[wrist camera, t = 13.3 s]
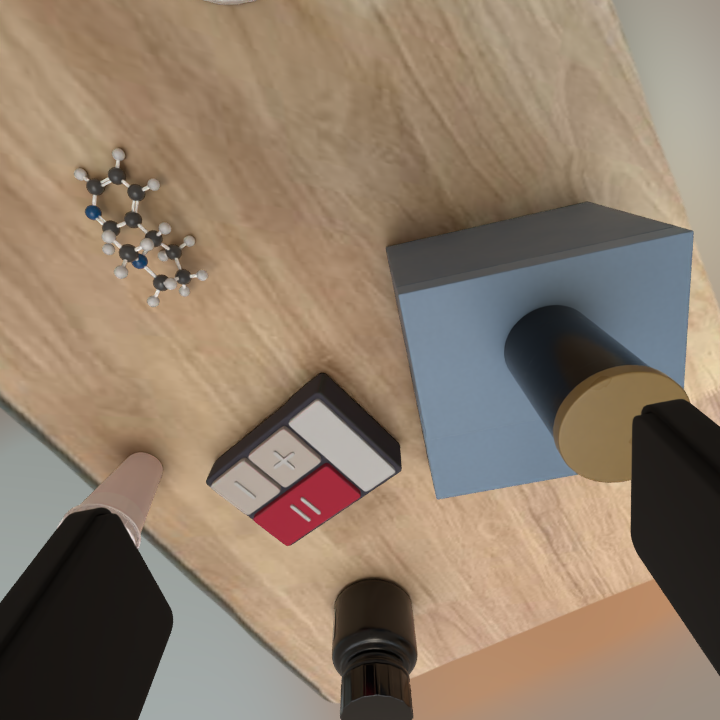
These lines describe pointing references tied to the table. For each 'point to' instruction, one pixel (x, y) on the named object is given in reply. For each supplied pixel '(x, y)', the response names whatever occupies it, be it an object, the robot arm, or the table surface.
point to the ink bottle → (374, 651)
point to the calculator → (306, 462)
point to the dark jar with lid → (584, 388)
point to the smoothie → (127, 492)
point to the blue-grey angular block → (507, 306)
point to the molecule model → (135, 221)
